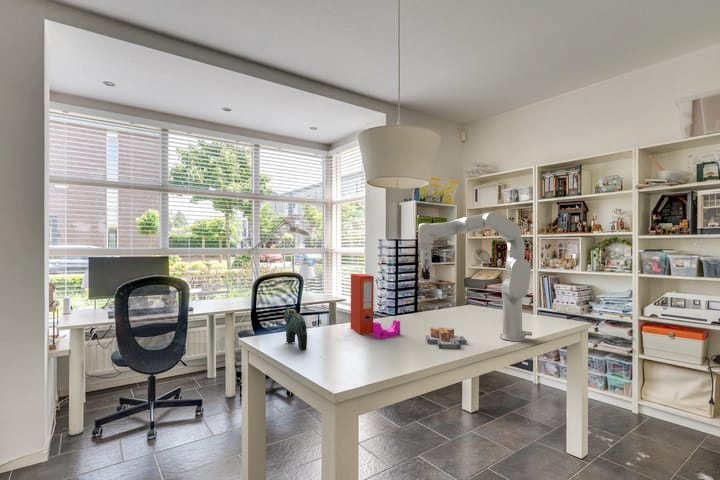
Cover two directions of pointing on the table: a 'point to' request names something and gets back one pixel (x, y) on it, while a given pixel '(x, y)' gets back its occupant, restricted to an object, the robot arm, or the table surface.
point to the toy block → (386, 330)
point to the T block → (442, 333)
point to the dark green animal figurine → (295, 328)
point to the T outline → (446, 345)
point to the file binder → (362, 303)
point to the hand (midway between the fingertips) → (425, 278)
